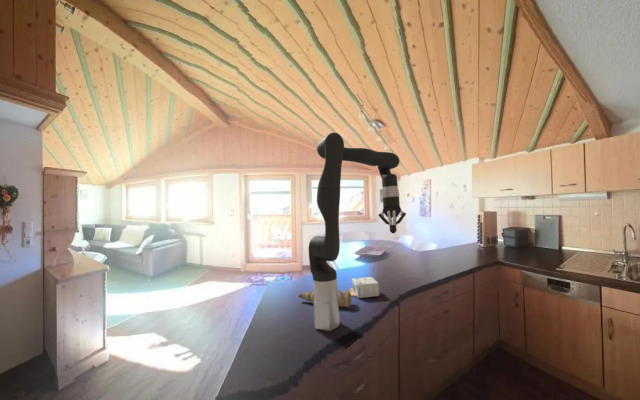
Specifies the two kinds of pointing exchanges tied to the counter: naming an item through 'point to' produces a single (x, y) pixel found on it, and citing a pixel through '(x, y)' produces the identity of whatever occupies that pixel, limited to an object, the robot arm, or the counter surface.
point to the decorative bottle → (343, 298)
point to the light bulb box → (365, 287)
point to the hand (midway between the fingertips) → (393, 233)
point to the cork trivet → (352, 293)
